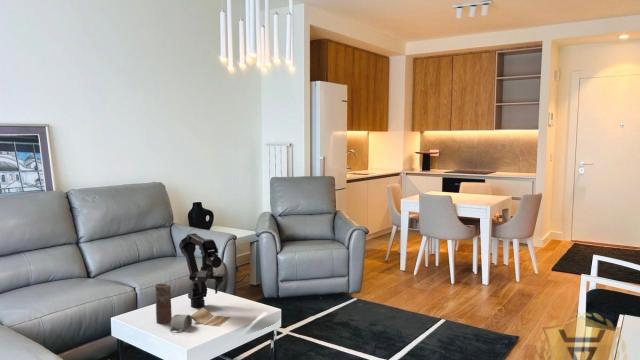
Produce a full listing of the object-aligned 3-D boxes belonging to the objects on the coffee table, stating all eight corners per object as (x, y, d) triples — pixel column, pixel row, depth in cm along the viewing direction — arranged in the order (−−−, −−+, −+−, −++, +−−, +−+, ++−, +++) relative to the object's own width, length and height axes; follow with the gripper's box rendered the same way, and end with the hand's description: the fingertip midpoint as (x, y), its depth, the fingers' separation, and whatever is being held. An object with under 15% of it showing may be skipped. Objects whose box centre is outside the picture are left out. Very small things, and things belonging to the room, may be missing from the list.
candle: (155, 322, 240) (154, 283, 239) (170, 319, 243) (170, 281, 242) (157, 327, 233) (156, 287, 232) (172, 325, 236) (171, 285, 235)
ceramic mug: (177, 326, 235) (177, 311, 234) (192, 327, 233) (192, 312, 232) (165, 334, 225) (165, 319, 224) (181, 336, 223) (180, 320, 222)
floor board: (202, 327, 234) (202, 324, 234) (215, 317, 246) (215, 315, 246) (219, 328, 231) (219, 326, 231) (231, 319, 244) (231, 317, 244)
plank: (190, 317, 236) (191, 315, 236) (202, 309, 247) (203, 307, 247) (200, 325, 235) (202, 323, 234) (212, 317, 246) (213, 315, 246)
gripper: (183, 266, 242) (184, 296, 243) (217, 269, 238) (218, 299, 239) (193, 261, 253) (194, 289, 254) (226, 263, 249) (226, 292, 250)
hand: (208, 292), depth 249 cm, fingers open, 9 cm apart
